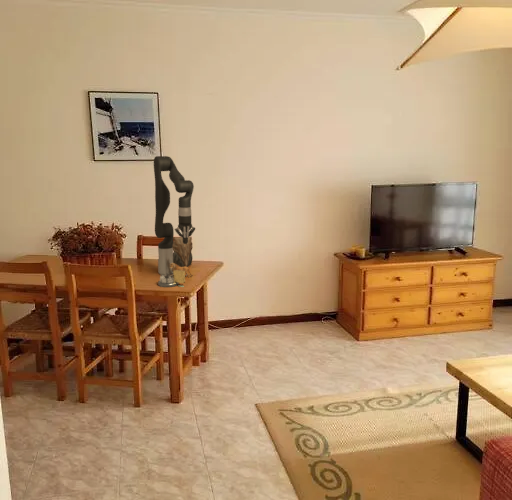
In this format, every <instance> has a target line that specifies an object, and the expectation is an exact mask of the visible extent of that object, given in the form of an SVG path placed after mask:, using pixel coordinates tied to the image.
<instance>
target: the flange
mask: <svg viewBox="0 0 512 500" xmlns="http://www.w3.org/2000/svg"><path fill="white" fill-rule="evenodd" d="M170 275H171V274H167V275H166V278H168V276H170ZM157 282H158V283H157V284H158V286H159V287H160V288H174V287H175V288H176V287H178V286H179V284H180V283H178V282H173V283H162V282H160V280H158V281H157Z"/></svg>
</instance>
